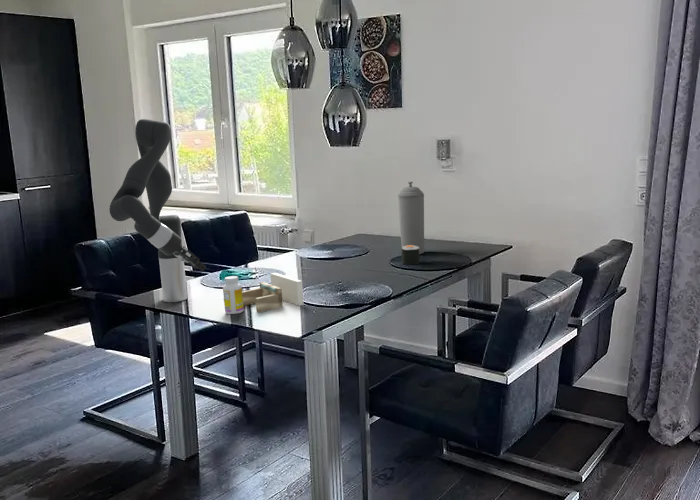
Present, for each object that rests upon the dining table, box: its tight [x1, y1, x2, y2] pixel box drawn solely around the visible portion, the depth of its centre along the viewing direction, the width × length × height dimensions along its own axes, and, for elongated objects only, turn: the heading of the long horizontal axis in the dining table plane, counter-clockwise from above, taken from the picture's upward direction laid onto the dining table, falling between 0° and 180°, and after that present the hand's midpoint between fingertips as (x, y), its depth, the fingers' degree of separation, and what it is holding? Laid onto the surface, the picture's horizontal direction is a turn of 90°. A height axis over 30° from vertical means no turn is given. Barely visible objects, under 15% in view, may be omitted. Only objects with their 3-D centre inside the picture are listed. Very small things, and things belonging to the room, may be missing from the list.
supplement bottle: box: [222, 275, 245, 315], centre depth 243 cm, size 7×7×13 cm
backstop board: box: [270, 272, 304, 306], centre depth 255 cm, size 20×2×9 cm, turn 35°
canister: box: [397, 181, 425, 255], centre depth 328 cm, size 13×13×35 cm
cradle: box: [242, 281, 284, 313], centre depth 249 cm, size 14×10×7 cm
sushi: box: [401, 245, 420, 266], centre depth 309 cm, size 8×8×8 cm
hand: (200, 267), depth 234 cm, fingers open, 5 cm apart
